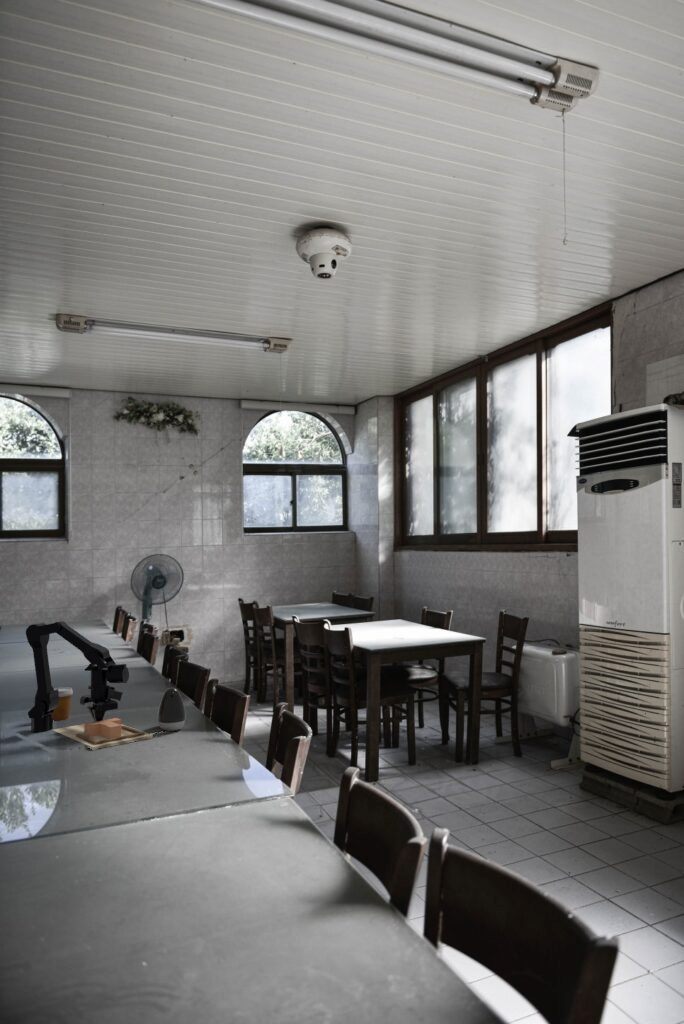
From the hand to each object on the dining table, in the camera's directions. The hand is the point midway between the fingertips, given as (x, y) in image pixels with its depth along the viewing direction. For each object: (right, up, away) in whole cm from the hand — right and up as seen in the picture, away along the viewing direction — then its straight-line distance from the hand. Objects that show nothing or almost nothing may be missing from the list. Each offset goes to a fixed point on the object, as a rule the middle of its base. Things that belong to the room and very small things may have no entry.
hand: (98, 726), depth 261 cm
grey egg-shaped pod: (+25, -3, +5) cm, 26 cm away
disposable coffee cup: (-23, -4, +22) cm, 32 cm away
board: (+2, -3, -2) cm, 3 cm away
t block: (+5, -1, -6) cm, 8 cm away
